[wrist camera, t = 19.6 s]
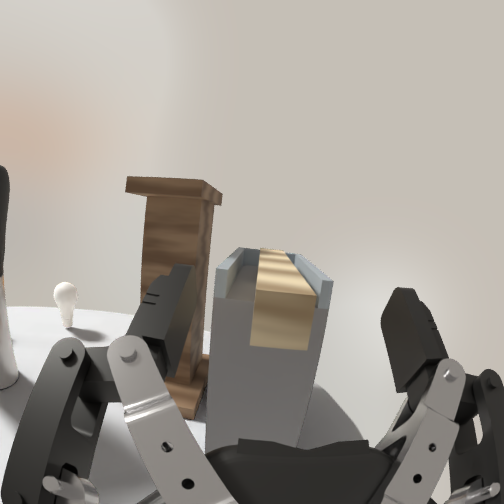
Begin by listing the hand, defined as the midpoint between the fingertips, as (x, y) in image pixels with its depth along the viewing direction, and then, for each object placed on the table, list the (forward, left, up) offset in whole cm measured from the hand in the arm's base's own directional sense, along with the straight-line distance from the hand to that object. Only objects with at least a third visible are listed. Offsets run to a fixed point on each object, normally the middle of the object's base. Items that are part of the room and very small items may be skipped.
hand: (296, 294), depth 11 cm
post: (-27, +19, -25) cm, 41 cm away
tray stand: (-12, +21, -25) cm, 35 cm away
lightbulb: (-58, +13, -25) cm, 65 cm away
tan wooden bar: (-8, +15, -4) cm, 17 cm away
